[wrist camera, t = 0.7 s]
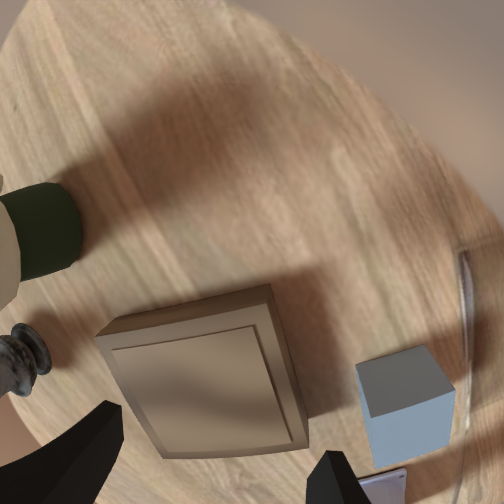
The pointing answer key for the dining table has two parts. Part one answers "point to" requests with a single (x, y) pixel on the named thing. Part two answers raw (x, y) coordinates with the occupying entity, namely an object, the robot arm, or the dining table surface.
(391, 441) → the blue block
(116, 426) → the robot arm
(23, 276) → the character mug
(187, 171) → the dining table surface
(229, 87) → the dining table surface
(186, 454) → the walnut plinth
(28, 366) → the salt shaker
